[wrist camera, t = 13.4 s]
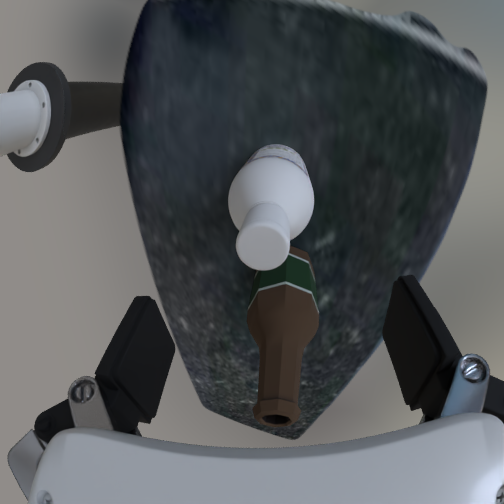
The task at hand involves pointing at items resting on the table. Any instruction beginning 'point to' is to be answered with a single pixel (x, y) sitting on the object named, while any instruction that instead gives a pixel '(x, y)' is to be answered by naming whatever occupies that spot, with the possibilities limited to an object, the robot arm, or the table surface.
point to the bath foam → (270, 205)
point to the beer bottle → (282, 334)
